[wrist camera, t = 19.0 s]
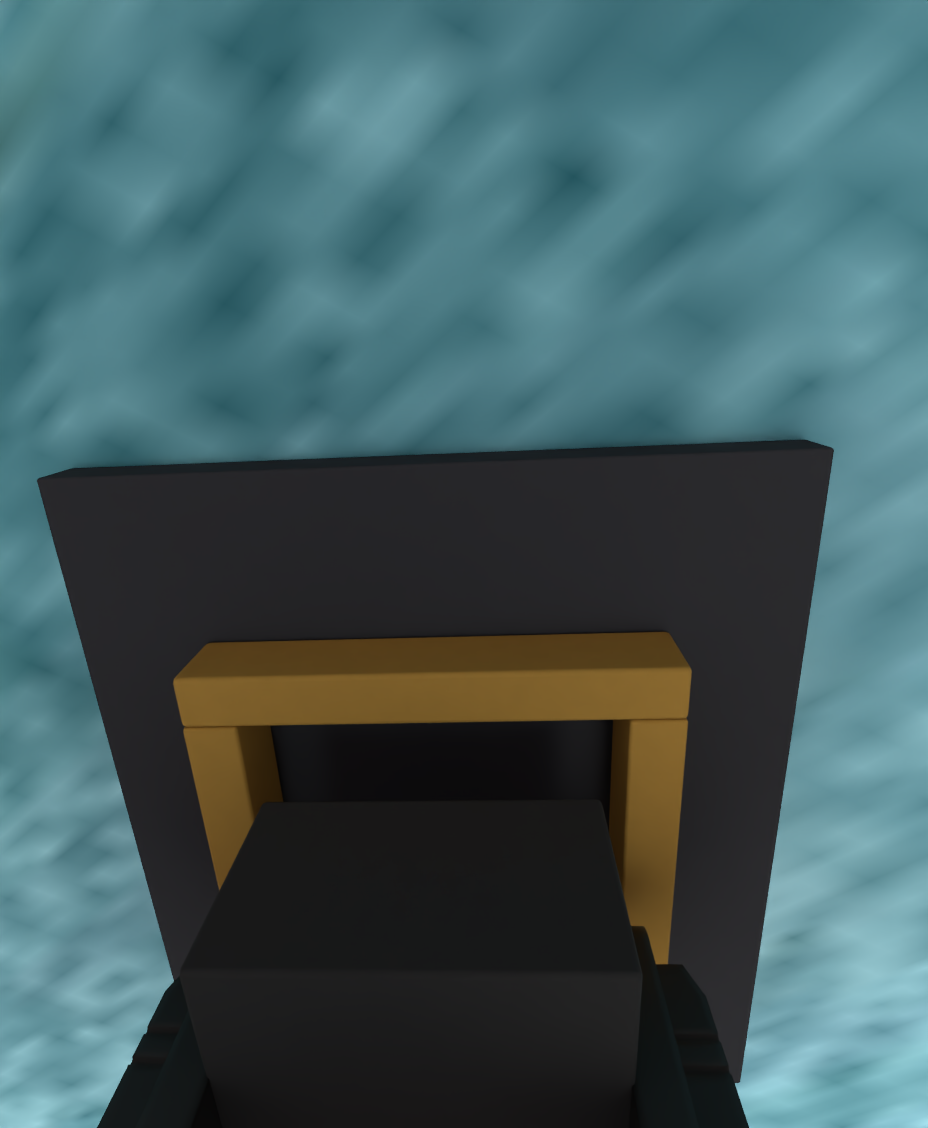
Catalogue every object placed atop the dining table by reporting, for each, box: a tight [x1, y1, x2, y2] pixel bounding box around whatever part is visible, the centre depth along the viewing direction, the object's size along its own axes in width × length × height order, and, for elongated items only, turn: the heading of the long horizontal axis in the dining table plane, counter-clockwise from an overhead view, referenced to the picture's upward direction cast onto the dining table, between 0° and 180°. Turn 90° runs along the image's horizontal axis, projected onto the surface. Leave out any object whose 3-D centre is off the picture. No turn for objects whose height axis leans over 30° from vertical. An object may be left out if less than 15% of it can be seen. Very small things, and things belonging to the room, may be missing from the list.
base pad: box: [37, 440, 834, 1083], centre depth 13 cm, size 16×14×2 cm
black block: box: [179, 799, 643, 1128], centre depth 10 cm, size 6×6×3 cm
